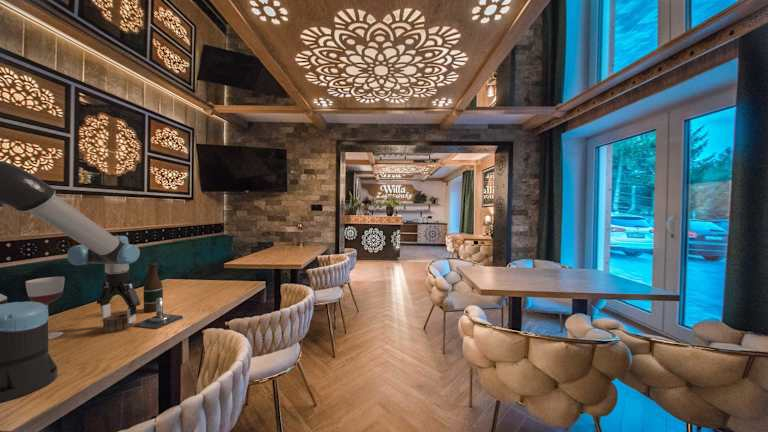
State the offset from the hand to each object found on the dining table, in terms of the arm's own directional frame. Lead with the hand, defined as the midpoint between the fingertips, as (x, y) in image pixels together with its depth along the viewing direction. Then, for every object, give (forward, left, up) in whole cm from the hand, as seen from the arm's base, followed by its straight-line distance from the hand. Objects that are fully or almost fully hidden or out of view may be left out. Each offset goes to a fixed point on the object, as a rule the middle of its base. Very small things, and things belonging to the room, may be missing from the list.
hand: (119, 321), depth 121 cm
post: (+9, -11, -3) cm, 14 cm away
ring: (0, 0, -3) cm, 3 cm away
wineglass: (-12, +19, -3) cm, 23 cm away
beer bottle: (+21, +7, -3) cm, 22 cm away
